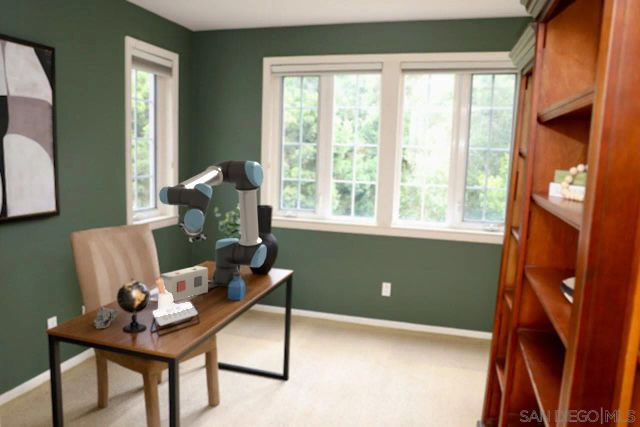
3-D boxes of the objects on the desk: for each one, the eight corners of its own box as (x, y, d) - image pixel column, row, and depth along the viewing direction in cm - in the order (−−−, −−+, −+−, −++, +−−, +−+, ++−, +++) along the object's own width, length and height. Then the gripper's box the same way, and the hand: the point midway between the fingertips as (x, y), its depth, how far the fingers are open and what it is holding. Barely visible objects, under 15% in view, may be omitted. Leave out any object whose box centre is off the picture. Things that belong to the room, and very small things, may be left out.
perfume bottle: (240, 300, 216) (241, 275, 214) (228, 298, 217) (228, 274, 215) (245, 296, 222) (245, 272, 220) (233, 294, 223) (233, 270, 221)
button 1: (193, 282, 225) (193, 274, 224) (201, 284, 222) (201, 276, 221) (187, 284, 221) (187, 276, 221) (194, 286, 218) (194, 278, 218)
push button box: (210, 285, 236) (210, 262, 234) (219, 288, 232) (220, 264, 230) (160, 299, 211) (160, 273, 210) (170, 303, 207) (170, 276, 206)
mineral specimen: (99, 336, 181) (122, 331, 180) (85, 328, 175) (109, 324, 173) (103, 313, 187) (126, 308, 186) (91, 305, 181) (114, 300, 179)
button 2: (177, 287, 216) (177, 279, 216) (185, 289, 213) (185, 281, 212) (170, 289, 213) (170, 280, 212) (178, 291, 210) (178, 283, 209)
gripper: (174, 226, 192) (175, 238, 214) (202, 242, 194) (200, 253, 215) (184, 211, 195) (184, 225, 217) (211, 227, 196) (208, 239, 218)
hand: (192, 239), depth 216 cm, fingers closed
